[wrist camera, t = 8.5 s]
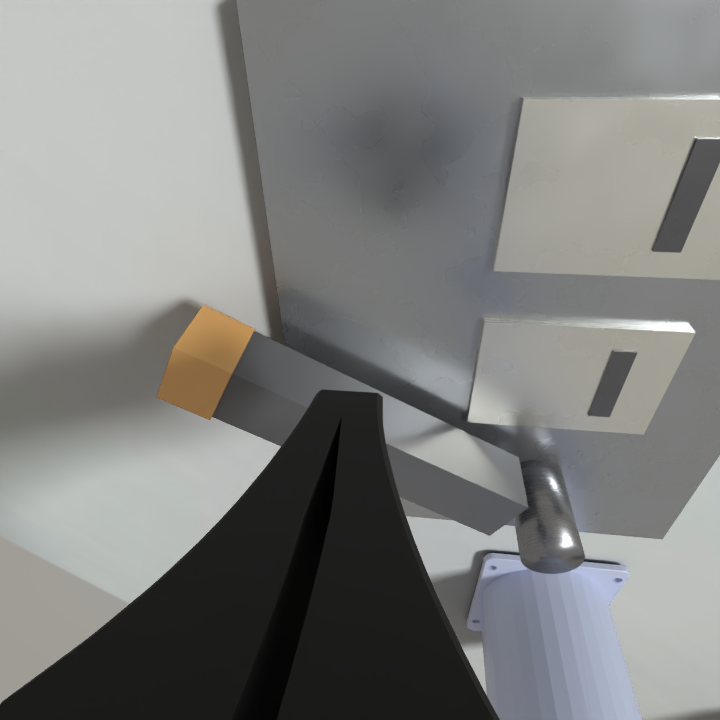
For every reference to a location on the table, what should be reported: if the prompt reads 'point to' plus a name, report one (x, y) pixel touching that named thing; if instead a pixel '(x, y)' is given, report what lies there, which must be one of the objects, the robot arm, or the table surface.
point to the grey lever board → (508, 233)
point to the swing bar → (307, 377)
